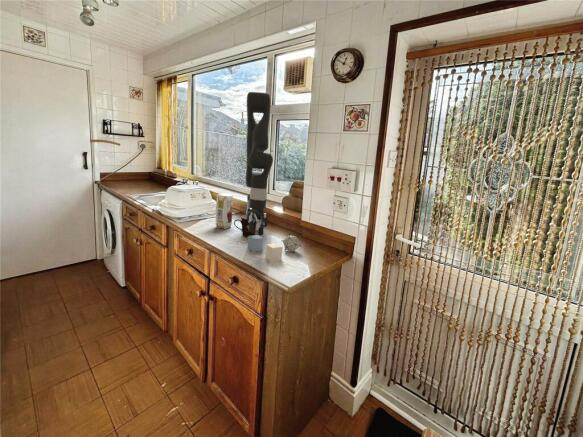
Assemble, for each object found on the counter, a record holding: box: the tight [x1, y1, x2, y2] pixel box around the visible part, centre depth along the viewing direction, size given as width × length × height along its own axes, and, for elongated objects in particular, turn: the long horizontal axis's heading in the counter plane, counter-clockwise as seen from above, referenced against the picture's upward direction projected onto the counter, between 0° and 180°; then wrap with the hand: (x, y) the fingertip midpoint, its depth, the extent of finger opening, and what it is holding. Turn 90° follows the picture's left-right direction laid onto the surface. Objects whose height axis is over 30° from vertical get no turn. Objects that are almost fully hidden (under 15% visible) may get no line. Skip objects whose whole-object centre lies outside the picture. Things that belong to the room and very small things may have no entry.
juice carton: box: [215, 192, 234, 230], centre depth 170 cm, size 8×9×19 cm
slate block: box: [247, 234, 264, 252], centre depth 138 cm, size 5×5×6 cm
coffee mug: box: [233, 215, 257, 238], centre depth 159 cm, size 12×9×10 cm
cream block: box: [265, 243, 283, 263], centre depth 128 cm, size 5×5×6 cm
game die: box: [280, 233, 302, 254], centre depth 139 cm, size 9×8×10 cm
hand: (255, 233), depth 137 cm, fingers open, 8 cm apart
